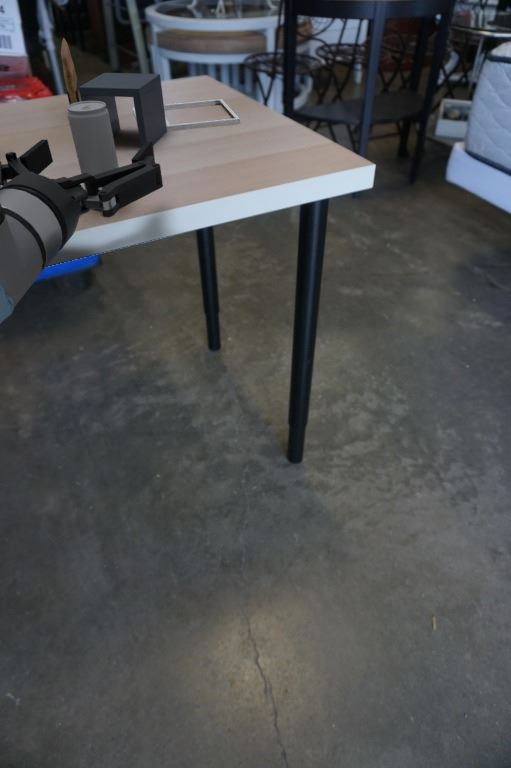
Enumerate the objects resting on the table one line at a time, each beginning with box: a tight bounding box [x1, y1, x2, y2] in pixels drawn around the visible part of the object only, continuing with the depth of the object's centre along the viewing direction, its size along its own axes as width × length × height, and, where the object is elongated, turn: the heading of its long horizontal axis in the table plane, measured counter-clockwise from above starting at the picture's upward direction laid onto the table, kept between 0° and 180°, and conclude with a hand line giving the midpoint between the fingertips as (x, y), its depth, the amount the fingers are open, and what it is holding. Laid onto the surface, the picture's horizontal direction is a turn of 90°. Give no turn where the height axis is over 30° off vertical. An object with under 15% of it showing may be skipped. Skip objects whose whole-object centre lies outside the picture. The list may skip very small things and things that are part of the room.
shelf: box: [79, 72, 168, 148], centre depth 89 cm, size 10×10×9 cm
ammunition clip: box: [60, 37, 82, 106], centre depth 100 cm, size 11×2×12 cm, turn 13°
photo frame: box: [132, 98, 241, 132], centre depth 101 cm, size 15×1×18 cm
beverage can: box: [66, 101, 120, 210], centre depth 67 cm, size 5×5×12 cm
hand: (98, 151), depth 68 cm, fingers open, 13 cm apart
